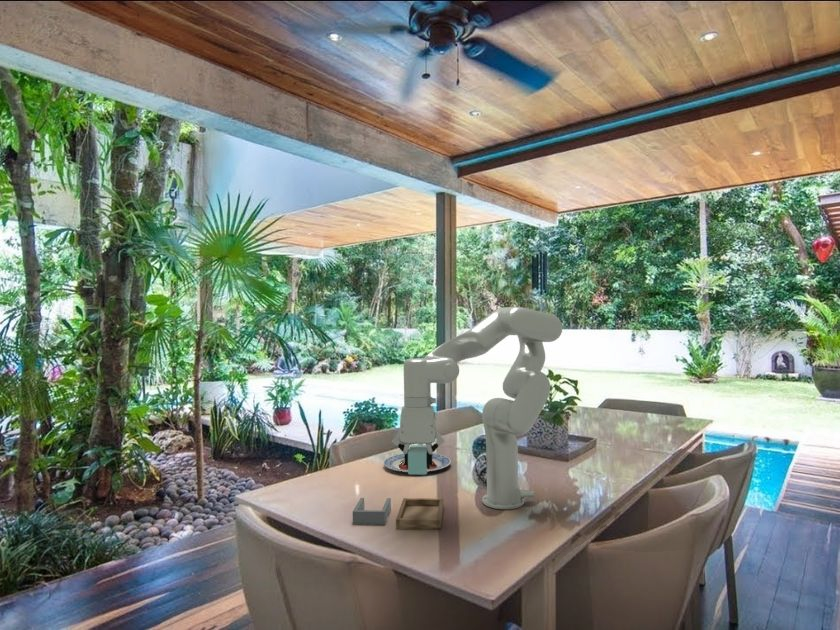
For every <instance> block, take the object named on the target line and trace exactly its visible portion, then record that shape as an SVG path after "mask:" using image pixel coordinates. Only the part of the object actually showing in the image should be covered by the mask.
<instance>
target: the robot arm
mask: <svg viewBox="0 0 840 630" xmlns="http://www.w3.org/2000/svg"><path fill="white" fill-rule="evenodd" d="M562 333H563V324H562V322H561V320H560V318H558V316H556V315H554V314H552V313H548V312H544V311H539V310H534V309H531V308H527V307H523V306H510V307H509V306H508V307H507V306H505V307H500V308H497V309H495V310H494V311H493V312H491V313H490V314H488V315H487V316H486V317H484V318H483V319H482V320H480V321H479V322H478V323H477V324H475V325H474V326H473V327H471V328H470V329H469V330H468V329H467V331H465V332H462V333H460V334H459V335H456V336H454V337H453V338H451V339H449V340H447V341H445V342H443V343H442V344H440V345H439V346H437V347H436V348H434V349H432V351H430V352H429V353H428V354H426V355H425V356H424V357H423V358H422V357H420V358H419V357H417V358H416V357H415V358H408V359H407V358H406V359H405V360H404V362H403V394H404V395H403V406H402V407H401V410H400V411H401V413H400V421H399V431H398V432H397V433H396V435H395V436H394V437H393V439H392V440H391V441H392V443H393V444H394V445H395V446H396V447H398V448H399V450H400V451H401V452H402V454H404V456H405V465H407V468H408V451H409V449H410V446H411V445H415V444H416V445H418V444H423V445H426V446H427V450H428V452H427V468H428V469H429V468H430V465H432V453H434V452H435V451H436V450H437V449H438V448H439V447H440V446H442V445H443V444H444V443H445V439H444V437H442V434H440V432H438V431H437V421H436V420H437V419H436V413H435V408H434V406H433V405H432V404H436V403H437V399H436V398H434V397H433V396H432V395H431V394H432V393H431V392H432V391H431V390H432V389H431V385H432V384H444V385H445V384H450V383H453V382H454V381H455V380H456V379H457V378H458V377H459V374H460V367H459V365H458V363H460V362H461V361H465V360H469V359H473V358H476V357H480V356H482V355H484V354H487V352H489V351H490V350H491V349H493V348H494V347H495V346H497V344H499V343H500V342H502V341H503V340H504V339H506V338H507V337H509V336H517V339H518V342H519V343H518V344H519V351H518V354H517V356H516V359H515V361H514V362H513V364H512V365H511V367H510V369H509V371H508V372H507V374H506V376H505V377H504V380H503V382H502V391H503V393H504V394H505V395H506V396H507V397H509V398H512V399H513V400H512V399H508V398H503V397H494V398H491V399H489V400H487V402H486V403H485V404H484V405H483V408H482V411H481V412H482V416H481V417H482V423H483V427H484V428H483V429H484V434H485V435H484V436H485V454H486V455H485V456H486V457H485V458H486V459H485V460H486V494H484V495H483V496H482V499H481V501H482V503H483V505H485V506H487V507H489V508H490V509H491V508H492V509H496V510H513V509H517V508H521V507H522V506H524V504H525V498H529V499H534V498H535V497H536V496H535V491H534V490H530V489H529V488H528V489H522V488H521V487H520V484H519V454H518V453H519V452H518V451H519V450H518V449H519V447H518V439H517V436H524V435H525V434H528V433H529V431H531V429H532V428H533V426H534V424H535V423H536V421H537V420H538V418H539V415H540V414H541V412H542V410H543V409H544V407H545V405H546V403H547V401H548V399H549V396H550V393H551V382H550V379H549V378H548V377H547V375H546V374H544V373H543V372H541V371H542V369H543V367H544V365H545V361H546V351H545V347H544V344H543V343H551V342H555V341H557V340H559V338H560V336H561V335H562ZM436 440H437V441H436Z"/></svg>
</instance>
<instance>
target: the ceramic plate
mask: <svg viewBox="0 0 840 630" xmlns="http://www.w3.org/2000/svg"><path fill="white" fill-rule="evenodd" d="M399 462H400V463H401V462H402V463H401V464H399V465H398V466H399V468H400V469H398V468H396V466H395V465H396V464H397V463H399ZM451 463H452V460H451V458H449V457H448V456H446V455H443V454H439V453H434V452H433V453H432V465H430V468H429V469H428V470H427V473H429V472H430V471H431V472H433V471H439V470H442V469H444V468H447V467H448V466H450V465H451ZM383 465H384V467H386V468H387V469H390V470H393V471H396V472H401V471H402V472H401V473H406V472H408V468H407V465H405V456H404V453H401V454H396V455H393V456H390V457H388V458H386V459H385V460H384V461H383Z"/></svg>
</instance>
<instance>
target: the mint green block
mask: <svg viewBox="0 0 840 630" xmlns="http://www.w3.org/2000/svg"><path fill="white" fill-rule="evenodd" d="M427 452H428V450H427V446H426V444H416V445H415V444H410V446H409V451H408V473H407V474H408V475H427V474H428V472H427V470H428V468H427Z"/></svg>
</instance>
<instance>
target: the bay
mask: <svg viewBox="0 0 840 630" xmlns="http://www.w3.org/2000/svg"><path fill="white" fill-rule="evenodd" d="M391 499H392V498H391V497H387V498H386V500H385V502H384V505H383V506H382V509H381V510H376V509H375V510H372V509H370V510H365V497H360V499H359V500H358V502H357V504H356V505H355V507H354V508H353V510H352V525H373V526H374V525H380V526H382V525H383V526H384V525H386V523H387V520H388V518H389V516H390V513H391V510H392V503H391V501H392V500H391Z"/></svg>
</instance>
